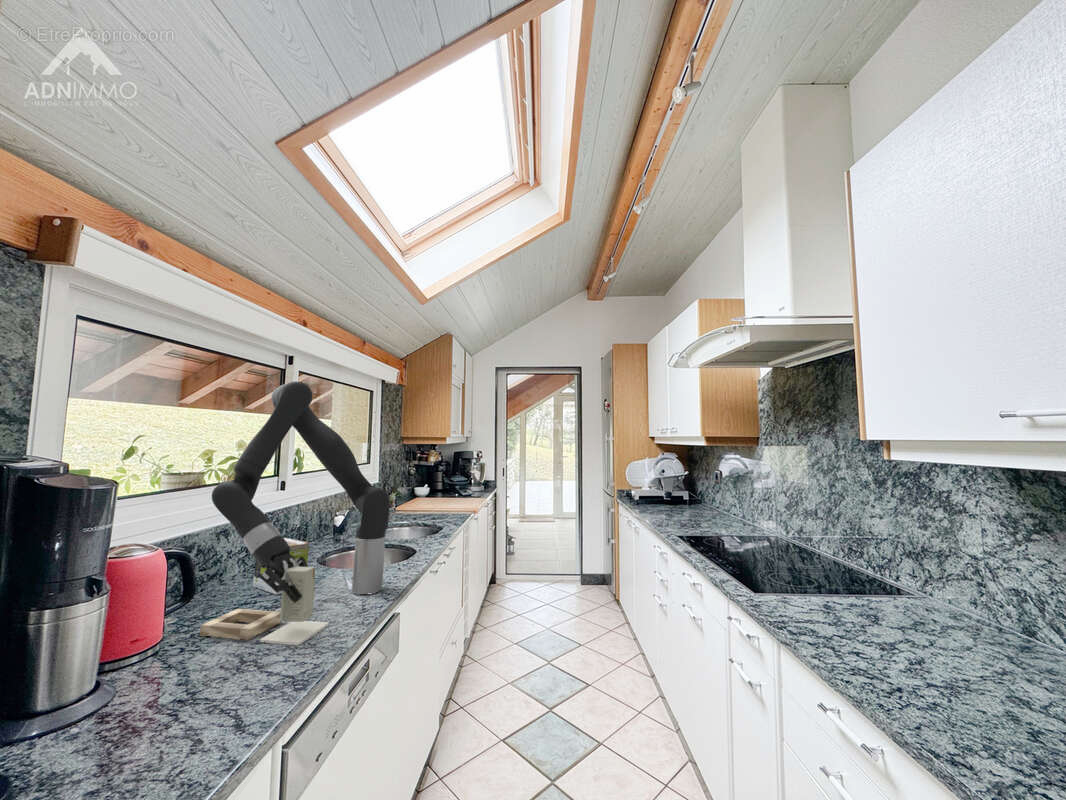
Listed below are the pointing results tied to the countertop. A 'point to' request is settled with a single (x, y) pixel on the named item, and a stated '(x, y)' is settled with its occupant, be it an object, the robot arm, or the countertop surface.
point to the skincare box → (305, 585)
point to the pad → (294, 632)
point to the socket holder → (229, 629)
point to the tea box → (296, 551)
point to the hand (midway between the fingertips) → (304, 596)
